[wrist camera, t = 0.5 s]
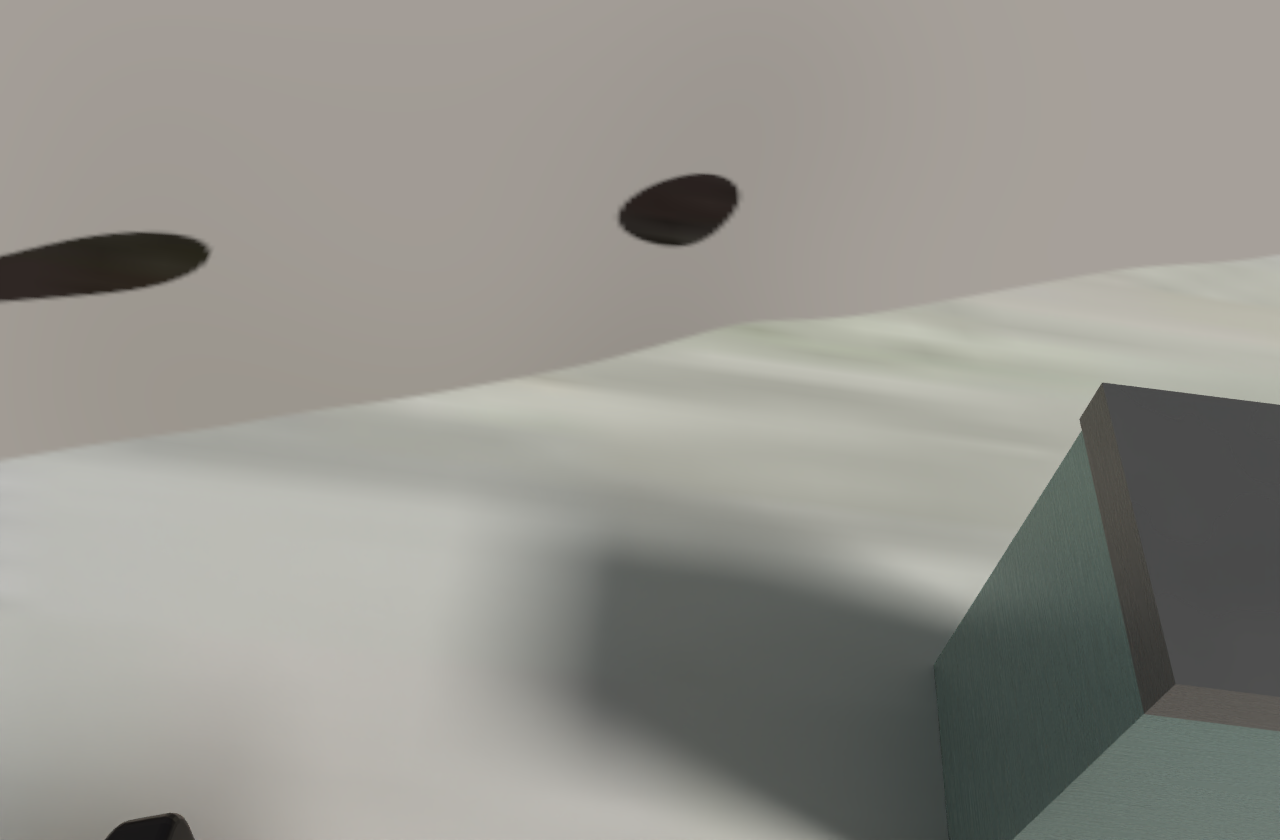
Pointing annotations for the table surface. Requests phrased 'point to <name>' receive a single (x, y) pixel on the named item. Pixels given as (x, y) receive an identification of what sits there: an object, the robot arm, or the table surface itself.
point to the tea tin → (1128, 638)
